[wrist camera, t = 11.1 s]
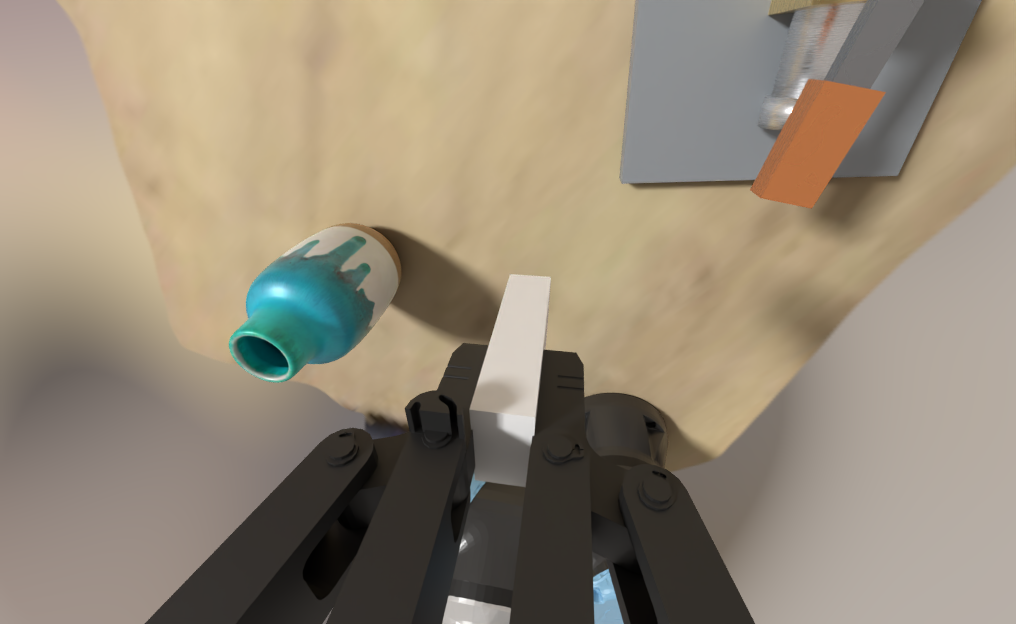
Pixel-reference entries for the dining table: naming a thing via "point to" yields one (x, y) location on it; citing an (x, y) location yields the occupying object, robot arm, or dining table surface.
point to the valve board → (760, 89)
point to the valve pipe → (806, 50)
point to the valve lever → (834, 108)
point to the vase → (316, 301)
